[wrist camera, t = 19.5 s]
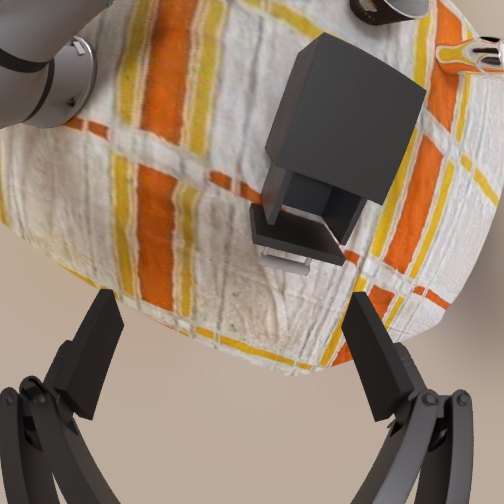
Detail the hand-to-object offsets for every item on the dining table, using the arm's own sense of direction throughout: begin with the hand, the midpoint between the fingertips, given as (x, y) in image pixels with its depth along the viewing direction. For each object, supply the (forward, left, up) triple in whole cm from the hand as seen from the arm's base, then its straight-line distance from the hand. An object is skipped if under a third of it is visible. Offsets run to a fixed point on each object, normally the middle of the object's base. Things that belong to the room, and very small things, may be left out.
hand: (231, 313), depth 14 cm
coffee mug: (+18, +31, -27) cm, 45 cm away
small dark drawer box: (+12, +10, -27) cm, 31 cm away
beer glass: (+34, +26, -27) cm, 51 cm away
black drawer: (+9, -2, -26) cm, 27 cm away
